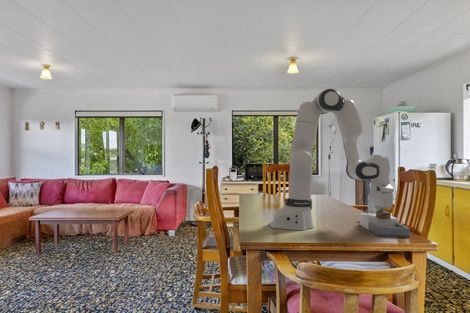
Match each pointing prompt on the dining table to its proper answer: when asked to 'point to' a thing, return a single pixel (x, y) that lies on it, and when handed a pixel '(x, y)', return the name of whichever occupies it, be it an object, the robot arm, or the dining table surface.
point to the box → (389, 230)
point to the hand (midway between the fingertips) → (379, 214)
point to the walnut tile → (383, 215)
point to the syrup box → (371, 207)
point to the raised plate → (377, 221)
